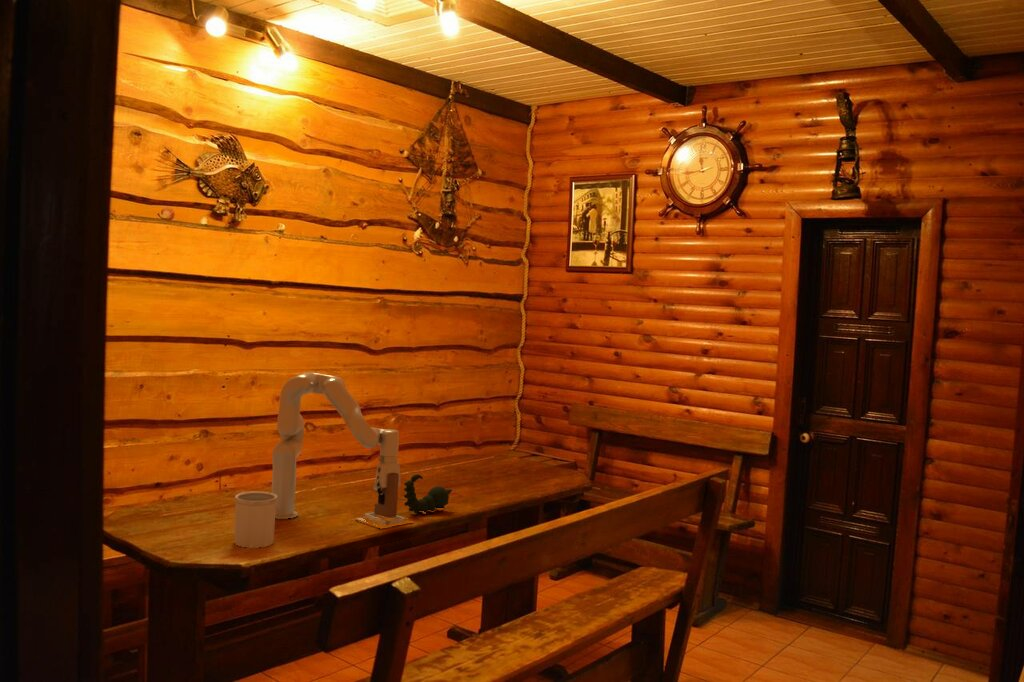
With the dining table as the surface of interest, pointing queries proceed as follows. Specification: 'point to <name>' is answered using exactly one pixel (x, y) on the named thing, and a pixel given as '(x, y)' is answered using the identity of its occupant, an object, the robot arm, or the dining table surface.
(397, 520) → the dock tray
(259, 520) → the utensil holder
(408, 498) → the toy figurine
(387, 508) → the wooden block
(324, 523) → the dining table surface
